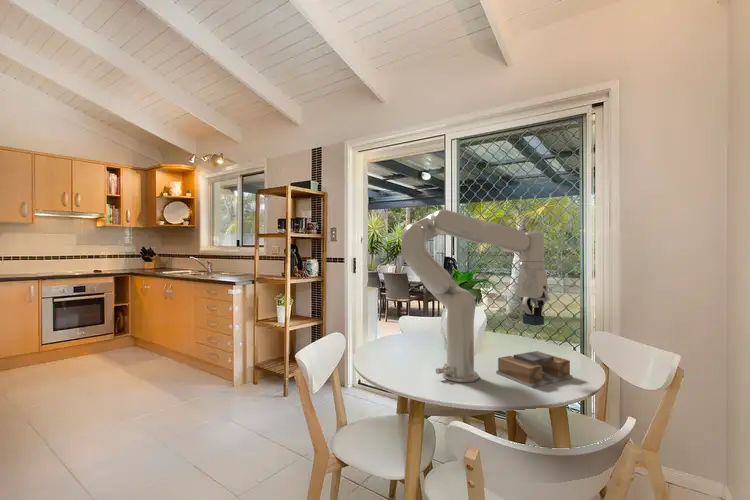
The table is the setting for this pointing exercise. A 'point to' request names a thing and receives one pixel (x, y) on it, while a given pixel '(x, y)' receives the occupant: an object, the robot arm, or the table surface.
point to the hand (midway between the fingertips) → (533, 316)
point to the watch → (531, 319)
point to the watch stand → (534, 368)
